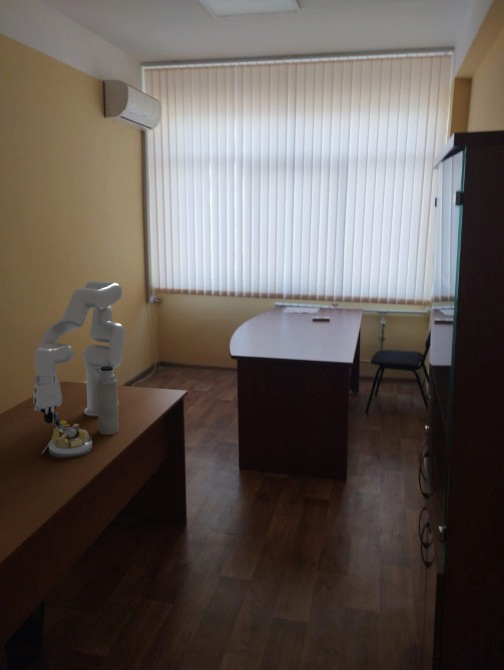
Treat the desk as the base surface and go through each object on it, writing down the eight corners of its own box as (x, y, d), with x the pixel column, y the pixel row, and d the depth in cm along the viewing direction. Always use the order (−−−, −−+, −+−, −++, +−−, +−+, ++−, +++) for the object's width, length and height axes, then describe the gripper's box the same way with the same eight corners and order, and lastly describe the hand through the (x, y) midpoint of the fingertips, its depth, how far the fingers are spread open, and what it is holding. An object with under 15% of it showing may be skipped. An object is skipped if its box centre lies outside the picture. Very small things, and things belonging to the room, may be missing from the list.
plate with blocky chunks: (81, 435, 221) (80, 416, 219) (98, 451, 207) (98, 431, 205) (41, 444, 211) (40, 425, 210) (57, 461, 198) (56, 441, 196)
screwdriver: (59, 419, 229) (35, 451, 200) (68, 419, 229) (45, 451, 200) (60, 426, 230) (36, 459, 200) (68, 426, 230) (45, 459, 201)
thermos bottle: (106, 426, 231) (104, 363, 225) (122, 428, 229) (120, 365, 222) (95, 432, 224) (92, 368, 217) (111, 436, 221) (109, 370, 215)
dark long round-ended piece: (93, 442, 207) (92, 427, 205) (59, 450, 199) (59, 434, 198) (71, 423, 224) (70, 409, 223) (39, 430, 216) (39, 415, 215)
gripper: (33, 384, 204) (35, 429, 208) (68, 376, 215) (70, 420, 219) (23, 380, 209) (26, 424, 213) (59, 372, 220) (60, 415, 224)
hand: (48, 422), depth 216 cm, fingers closed
